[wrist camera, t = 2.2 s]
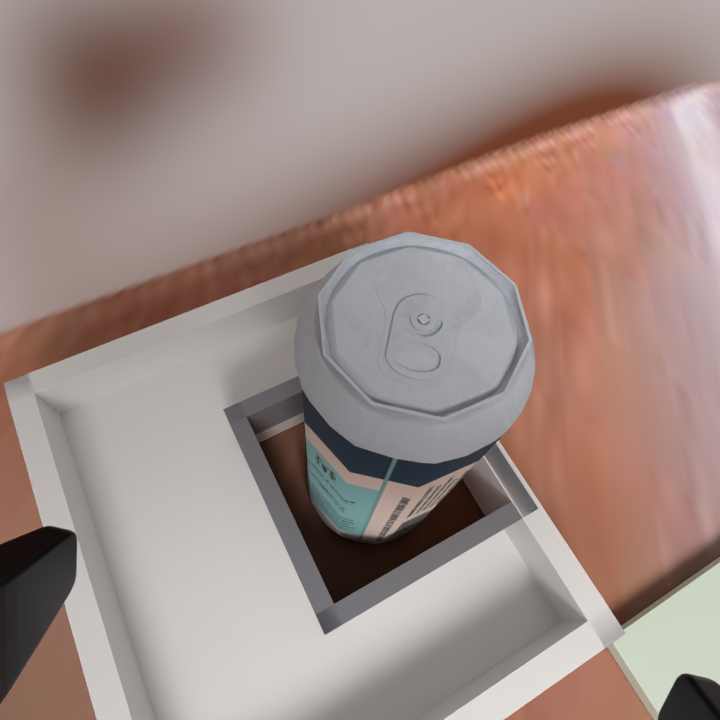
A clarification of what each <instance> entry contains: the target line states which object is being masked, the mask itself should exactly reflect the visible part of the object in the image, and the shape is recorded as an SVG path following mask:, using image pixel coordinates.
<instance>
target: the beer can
mask: <svg viewBox="0 0 720 720" xmlns="http://www.w3.org/2000/svg"><path fill="white" fill-rule="evenodd" d="M294 355H295V366H296V369H297V373H298V376H299V380H300V383H301V387H302V396H303V408H304V421H305V434H306V447H307V460H308V466H307V489H308V494H309V498H310V501H311V504H312V506H313V508H314V510H315V511H316V513H317V514H318V515H319V517H320V518H321V519H322V521H323V522H324V523H325V525H327V526H328V527H329V528H330V529H332V530H333V531H334V532H336V533H337V534H338V535H340V536H342V537H344V538H347V539H350V540H353V541H355V542H361V543H369V544H381V543H386V542H389V541H393V540H396V539H397V538H399V537H401V536H403V535H405V534H407V533H409V532H410V531H411V530H412V529H414V528H415V527H416V526H417V525H418V524H419V523H420V522H421V521H422V520H423V519H424V518H425V517H426V516H427V515H428V514H429V513H430V512H431V510H432V509H433V508H434V507H435V506H436V505H437V504H438V503H439V502H440V501H441V500H442V499H443V498H444V497H445V496H446V495H447V494H448V493H449V492H450V491H451V489H452V488H453V487H454V486H455V485H456V484H457V483H458V482H459V481H460V480H461V479H462V478H463V477H464V476H465V475H466V474H467V473H468V472H469V471H470V469H471V468H472V467H473V466H474V465H475V464H476V463H477V462H478V461H479V460H480V459H481V458H482V457H483V456H484V455H485V454H486V453H487V452H488V451H489V450H490V448H491V447H492V446H493V445H494V444H495V443H496V442H497V441H498V440H499V439H500V438H501V437H502V436H503V435H504V434H505V433H506V431H507V430H508V429H509V428H510V426H511V425H512V424H513V423H514V422H515V420H516V419H517V418H518V417H519V415H520V414H521V412H522V410H523V408H524V406H525V404H526V402H527V400H528V398H529V396H530V393H531V389H532V384H533V379H534V374H535V369H536V365H535V353H534V342H533V337H532V335H531V332H530V330H529V325H528V322H527V319H526V316H525V313H524V309H523V306H522V302H521V299H520V295H519V292H518V288H517V285H516V283H514V282H513V281H512V280H511V279H510V278H509V277H507V276H506V275H505V274H504V273H503V272H502V271H500V270H499V269H498V268H497V267H496V266H494V265H493V264H492V263H491V262H490V261H489V260H487V259H486V258H485V257H484V256H483V255H482V254H480V253H479V252H478V251H477V250H476V249H474V248H473V247H472V246H471V245H470V244H466V243H462V242H457V241H452V240H447V239H442V238H437V237H433V236H428V235H423V234H418V233H413V232H409V231H408V232H405V233H402V234H398V235H395V236H392V237H389V238H386V239H383V240H380V241H377V242H373V243H370V244H367V245H364V246H361V247H358V248H355V249H351V251H350V252H349V253H348V255H347V256H346V257H345V259H343V260H342V261H341V262H340V263H339V264H337V265H336V266H335V267H334V268H333V269H332V270H330V271H329V272H328V273H327V274H326V275H325V276H324V277H323V278H322V279H321V280H320V282H319V283H318V284H317V285H316V286H315V287H314V288H313V289H312V290H311V292H310V293H309V295H308V297H307V299H306V301H305V303H304V305H303V307H302V310H301V312H300V314H299V316H298V320H297V325H296V331H295V336H294Z"/></svg>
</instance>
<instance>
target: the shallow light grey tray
mask: <svg viewBox="0 0 720 720" xmlns="http://www.w3.org/2000/svg"><path fill="white" fill-rule="evenodd" d="M367 244H369V243H368V242H367V243H364V244H361V245H359V246H356V247H354V248H351V249H355V248H358V247H361V246H364V245H367ZM351 249H348V250H346V251H343V252H341V253H338V254H336V255H333V256H330V257H328V258H325V259H323V260H320V261H317V262H315V263H312V264H310V265H307V266H305V267H302V268H299V269H297V270H294V271H292V272H289V273H286V274H284V275H281V276H279V277H276V278H274V279H271V280H268V281H266V282H263V283H261V284H258V285H255V286H253V287H250V288H248V289H245V290H242V291H240V292H237V293H235V294H232V295H230V296H227V297H224V298H222V299H219V300H217V301H214V302H211V303H209V304H206V305H204V306H201V307H199V308H196V309H193V310H191V311H188V312H186V313H183V314H180V315H178V316H175V317H173V318H170V319H168V320H165V321H162V322H160V323H157V324H155V325H152V326H149V327H147V328H144V329H142V330H139V331H136V332H134V333H131V334H129V335H126V336H124V337H121V338H118V339H116V340H113V341H111V342H108V343H105V344H103V345H100V346H98V347H95V348H93V349H90V350H87V351H85V352H82V353H80V354H77V355H74V356H72V357H69V358H67V359H64V360H62V361H59V362H56V363H54V364H51V365H49V366H46V367H43V368H41V369H38V370H36V371H33V372H30V373H28V374H25V375H23V376H20V377H18V378H15V379H12V380H10V381H7V382H5V383H3V384H4V388H5V392H6V395H7V399H8V402H9V406H10V410H11V413H12V417H13V420H14V424H15V428H16V431H17V435H18V438H19V442H20V446H21V449H22V453H23V456H24V460H25V464H26V467H27V471H28V474H29V478H30V482H31V485H32V489H33V492H34V496H35V500H36V503H37V507H38V510H39V514H40V518H41V521H42V525H43V527H45V526H55V527H59V528H64V529H68V530H72V531H73V532H75V534H76V536H77V573H76V580H75V583H74V586H73V588H72V590H71V592H70V594H69V596H68V597H67V599H66V600H65V602H64V604H65V608H66V611H67V615H68V618H69V622H70V626H71V629H72V633H73V636H74V640H75V644H76V647H77V651H78V654H79V658H80V662H81V665H82V669H83V672H84V676H85V680H86V683H87V687H88V690H89V694H90V698H91V701H92V705H93V708H94V712H95V716H96V719H97V720H504V719H505V718H507V717H508V716H510V715H511V714H512V713H514V712H515V711H517V710H518V709H519V708H521V707H522V706H524V705H525V704H526V703H528V702H529V701H531V700H532V699H534V698H535V697H536V696H538V695H539V694H541V693H542V692H543V691H545V690H546V689H548V688H549V687H551V686H552V685H553V684H555V683H556V682H558V681H559V680H560V679H562V678H563V677H565V676H566V675H568V674H569V673H570V672H572V671H573V670H575V669H576V668H577V667H579V666H580V665H582V664H583V663H584V662H586V661H587V660H589V659H590V658H592V657H593V656H594V655H596V654H597V653H599V652H600V651H601V650H603V649H604V648H606V647H607V646H609V645H610V644H611V643H613V642H614V641H616V640H617V639H618V638H620V637H621V636H623V635H624V634H626V633H625V631H624V630H623V628H622V627H621V625H620V624H619V622H618V621H617V619H616V618H615V616H614V615H613V613H612V612H611V610H610V609H609V607H608V606H607V604H606V602H605V601H604V599H603V598H602V596H601V595H600V593H599V592H598V590H597V589H596V587H595V586H594V584H593V583H592V581H591V580H590V578H589V577H588V575H587V574H586V572H585V571H584V569H583V568H582V566H581V565H580V563H579V561H578V560H577V558H576V557H575V555H574V554H573V552H572V551H571V549H570V548H569V546H568V545H567V543H566V542H565V540H564V539H563V537H562V536H561V534H560V533H559V531H558V530H557V528H556V527H555V525H554V524H553V522H552V520H551V519H550V517H549V516H548V514H547V513H546V511H545V510H544V508H543V507H542V505H541V504H540V502H539V501H538V499H537V498H536V496H535V495H534V493H533V492H532V490H531V489H530V487H529V486H528V484H527V483H526V481H525V480H524V478H523V476H522V475H521V473H520V472H519V470H518V469H517V467H516V466H515V464H514V463H513V461H512V460H511V458H510V457H509V455H508V454H507V452H506V451H505V449H504V448H503V446H502V445H501V443H500V442H499V440H498V441H497V442H496V443H495V444H494V445H493V446H492V447H491V448H490V450H489V451H488V452H487V453H486V454H485V455H484V456H483V457H482V458H481V459H480V460H479V461H478V462H477V463H476V464H475V465H474V466H473V467H472V468H471V469H470V471H469V472H468V473H467V474H466V475H465V476H464V477H463V478H462V479H463V481H464V483H465V484H466V486H467V488H468V489H469V491H470V492H471V494H472V496H473V497H474V499H475V501H476V502H477V504H478V506H479V507H480V509H481V510H482V512H483V514H484V515H485V517H484V518H482V519H480V520H479V521H477V522H475V523H473V524H472V525H470V526H468V527H466V528H465V529H463V530H461V531H459V532H458V533H456V534H454V535H453V536H451V537H449V538H447V539H446V540H444V541H442V542H440V543H439V544H437V545H435V546H434V547H432V548H430V549H428V550H427V551H425V552H423V553H421V554H420V555H418V556H416V557H414V558H413V559H411V560H409V561H408V562H406V563H404V564H402V565H401V566H399V567H397V568H395V569H394V570H392V571H390V572H389V573H387V574H385V575H383V576H382V577H380V578H378V579H376V580H375V581H373V582H371V583H369V584H368V585H366V586H364V587H363V588H361V589H359V590H357V591H356V592H354V593H352V594H350V595H349V596H347V597H345V598H344V599H342V600H340V601H338V602H337V603H335V604H334V603H333V601H332V599H331V596H330V594H329V592H328V590H327V588H326V586H325V584H324V582H323V579H322V577H321V575H320V573H319V571H318V569H317V567H316V564H315V562H314V560H313V558H312V556H311V554H310V552H309V549H308V547H307V545H306V543H305V541H304V539H303V537H302V534H301V532H300V530H299V528H298V526H297V524H296V522H295V519H294V517H293V515H292V513H291V511H290V509H289V507H288V504H287V502H286V500H285V498H284V496H283V494H282V492H281V489H280V487H279V485H278V483H277V481H276V479H275V477H274V474H273V472H272V470H271V468H270V466H269V464H268V462H267V460H266V457H265V455H264V453H263V451H262V449H261V447H260V445H259V442H261V441H264V440H266V439H268V438H270V437H272V436H274V435H276V434H278V433H281V432H283V431H285V430H287V429H289V428H291V427H293V426H295V425H298V424H300V423H302V422H304V408H303V396H302V387H301V383H300V380H299V376H298V373H297V369H296V366H295V355H294V336H295V331H296V325H297V320H298V316H299V314H300V312H301V310H302V307H303V305H304V303H305V301H306V299H307V297H308V295H309V293H310V292H311V290H312V289H313V288H314V287H315V286H316V285H317V284H318V283H319V282H320V280H321V279H322V278H323V277H324V276H325V275H326V274H327V273H328V272H329V271H330V270H332V269H333V268H334V267H335V266H336V265H337V264H339V263H340V262H341V261H342V260H343V259H345V257H346V256H347V255H348V253H349V252H350V251H351Z"/></svg>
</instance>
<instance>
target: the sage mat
mask: <svg viewBox="0 0 720 720" xmlns="http://www.w3.org/2000/svg"><path fill="white" fill-rule="evenodd" d="M621 627H622V628H623V630H624V631H625V633H626V634H624V635H623V636H621V637H620V638H618V639H617V640H616V641H614V642H613V643H611V644H610V645H609V646H607V648H608V649H609V651H610V653H611V654H612V656H613V657H614V659H615V660H616V662H617V663H618V665H619V667H620V668H621V670H622V671H623V673H624V674H625V676H626V678H627V679H628V681H629V682H630V684H631V685H632V687H633V688H634V690H635V692H636V693H637V695H638V696H639V698H640V699H641V701H642V703H643V704H644V706H645V707H646V709H647V710H648V712H649V713H650V715H651V717H652V718H653V720H658V715H659V712H660V709H661V707H662V705H663V703H664V702H665V700H666V698H667V696H668V694H669V692H670V690H671V688H672V686H673V684H674V682H675V680H676V679H677V677H678V676H680V675H681V674H684V673H688V674H692V675H697V676H701V677H705V678H709V679H711V680H713V681H715V682H716V683H718V684H719V685H720V557H718V558H717V559H716V560H714V561H713V562H711V563H710V564H708V565H707V566H705V567H704V568H703V569H701V570H700V571H698V572H697V573H695V574H694V575H693V576H691V577H690V578H688V579H687V580H685V581H684V582H683V583H681V584H680V585H678V586H677V587H675V588H674V589H673V590H671V591H670V592H668V593H667V594H665V595H664V596H663V597H661V598H660V599H658V600H657V601H655V602H654V603H653V604H651V605H650V606H648V607H647V608H645V609H644V610H643V611H641V612H640V613H638V614H637V615H635V616H634V617H633V618H631V619H630V620H628V621H627V622H625V623H624V624H623V625H621Z"/></svg>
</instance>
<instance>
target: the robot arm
mask: <svg viewBox="0 0 720 720" xmlns="http://www.w3.org/2000/svg"><path fill="white" fill-rule="evenodd" d="M76 573H77V536H76V534H75V532H73V531H72V530H68V529H64V528H59V527H55V526H45V527H42V528H39V529H37V530H35V531H32V532H30V533H27V534H25V535H22V536H20V537H17V538H15V539H12V540H10V541H7V542H5V543H3V544H0V704H1V702H2V701H3V699H4V698H5V697H6V695H7V694H8V692H9V691H10V689H11V688H12V686H13V685H14V683H15V681H16V680H17V678H18V677H19V675H20V674H21V672H22V670H23V669H24V667H25V666H26V664H27V662H28V661H29V659H30V657H31V656H32V654H33V653H34V651H35V649H36V648H37V646H38V644H39V643H40V641H41V639H42V638H43V636H44V635H45V633H46V631H47V630H48V628H49V626H50V625H51V623H52V622H53V620H54V618H55V617H56V615H57V613H58V612H59V610H60V609H61V607H62V605H63V604H64V602H65V600H66V599H67V597H68V596H69V594H70V592H71V590H72V588H73V586H74V583H75V580H76ZM658 720H720V685H719V684H718V683H716V682H715V681H713V680H711V679H709V678H705V677H701V676H697V675H692V674H688V673H684V674H681V675H680V676H678V677H677V679H676V680H675V682H674V684H673V686H672V688H671V690H670V692H669V694H668V696H667V698H666V700H665V702H664V703H663V705H662V707H661V709H660V712H659V715H658Z"/></svg>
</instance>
